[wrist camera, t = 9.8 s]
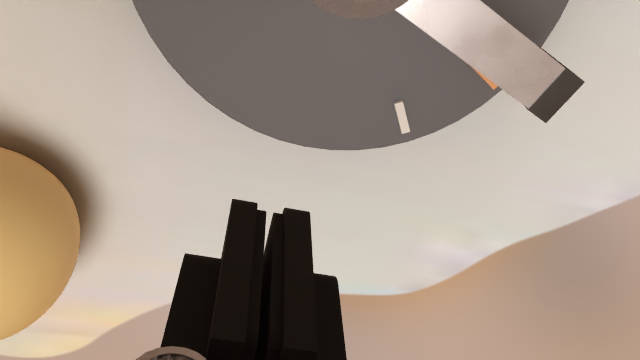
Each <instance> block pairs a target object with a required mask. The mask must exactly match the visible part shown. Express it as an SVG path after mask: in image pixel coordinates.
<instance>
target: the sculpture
mask: <svg viewBox="0 0 640 360" xmlns="http://www.w3.org/2000/svg"><path fill="white" fill-rule="evenodd" d="M79 247H80V223H79V218H78V213H77V210H76V207H75V204H74V202H73V200H72V198H71V196H70V194H69V193H68V191H67V190H66V188H65V187H64V186H63V184H62V183H61V182H60V181H59V180H58V179H57V178H56V177H55V176H54V175H53V174H52V173H51V172H49V171H48V170H47V169H46V168H44V167H43V166H41V165H40V164H38V163H37V162H35V161H34V160H32V159H30V158H28V157H26V156H24V155H22V154H20V153H17V152H14V151H11V150H8V149H5V148H1V147H0V340H2V339H5V338H7V337H9V336H12V335H14V334H16V333H18V332H20V331H21V330H23V329H25V328H26V327H28V326H29V325H31V324H32V323H34V322H35V321H36V320H37V319H39V318H40V317H41V316H42V315H43V314H44V313H45V312H46V311H47V310H48V309H49V308H50V307H51V306H52V305H53V304H54V302H55V301H56V300H57V299H58V297H59V296H60V295H61V293H62V292H63V290H64V288H65V287H66V285H67V283H68V281H69V279H70V277H71V275H72V272H73V270H74V267H75V264H76V261H77V257H78V253H79Z"/></svg>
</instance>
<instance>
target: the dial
mask: <svg viewBox="0 0 640 360" xmlns="http://www.w3.org/2000/svg"><path fill="white" fill-rule="evenodd" d="M312 1H313V2H314V3H315V4H317V5H318V6H319V7H321V8H322V9H324V10H326V11H328V12H330V13H332V14H334V15H337V16H341V17H344V18H351V19H366V18H373V17H377V16H381V15H384V14H386V13H389V12H391V11H393V10H396V11H397V12H399V13H400V14H401V15H403V16H404V17H405V18H407V19H408V20H409V21H411V22H412V23H413V24H415V25H416V26H417V27H419V28H420V29H422V30H423V31H424V32H426V33H427V34H428V35H430V36H431V37H432V38H434V39H435V40H436V41H438V42H439V43H440V44H442V45H443V46H445V47H446V48H447V49H449V50H450V51H451V52H453V53H454V54H455V55H457V56H458V57H459V58H461V59H462V60H463V61H465V62H466V63H467V64H469V65H470V66H472V67H473V68H474V69H476V70H477V71H478V72H480V73H481V74H482V75H484V76H485V77H486V78H488V79H489V80H490V81H492V82H493V83H494V84H496V85H497V86H499V87H500V88H501V89H503V90H504V91H505V92H507V93H508V94H509V95H511V96H512V97H513V98H515V99H516V100H517V101H519V102H520V103H522V104H523V105H524V106H525V107H526V108H527V109H528V110H529V111H530V112H532V113H533V114H534V115H536V116H537V117H538V118H540V119H541V120H542V121H544V122H545V123H546V122H547V121H548V120H549V119H550V118H551V117H552V116H553V115H554V114H555V113H556V112H557V111H558V110H559V109H560V108H561V107H562V106H563V105H564V103H565V102H566V101H567V100H568V99H569V98H570V97H571V96H572V95H573V94H574V93H575V92H576V91H577V90H578V89H579V88H580V87H581V86H582V85H583V83H584V81H583V80H582V79H580V78H579V77H578V76H577V75H575V74H574V73H573V72H572V71H570V70H569V69H568V68H567V67H565V66H564V65H563V64H561V63H560V62H559V61H557V60H556V59H555V58H554V57H552V56H551V55H550V54H548V53H547V52H546V51H545V50H543V49H542V48H541V47H539V46H537V45H536V44H534V43H533V42H532V41H531V40H529V39H528V38H527V37H526V36H524V35H523V34H522V33H521V32H519V31H518V30H517V29H516V28H514V27H513V26H512V25H511V24H509V23H508V22H507V21H506V20H504V19H503V18H502V17H500V16H499V15H498V14H497V13H495V12H494V11H493V10H492V9H490V8H489V7H488V6H487V5H485V4H484V3H483V2H482V1H480V0H312Z"/></svg>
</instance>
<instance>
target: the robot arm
mask: <svg viewBox="0 0 640 360" xmlns="http://www.w3.org/2000/svg"><path fill="white" fill-rule="evenodd" d="M265 224H266V211H261V210H257V203H254V202H248V201H242V200H236V199H232V203H231V209H230V214H229V219H228V225H227V230H226V236H225V241H224V246H223V252H222V257H221V259H218V258H212V257H205V256H199V255H192V254H186V253H185V255H184V258H183V262H182V266H181V270H180V274H179V278H178V282H177V285H176V289H175V293H174V297H173V301H172V305H171V309H170V313H169V316H168V320H167V324H166V328H165V332H164V336H163V340H162V344H161V347H160V348H156V349H154V350H151V351H148V352H146V353H145V354H143V355H142V356H140V357H139V358H137V359H136V360H347V359H346V351H345V342H344V333H343V324H342V315H341V306H340V297H339V288H338V281H337V278H336V277H335V276H329V275H322V274H316V273H313V258H312V240H311V223H310V212H307V211H301V210H295V209H289V208H284V210H283V214H279V213H273V217H272V221H271V225H270V229H269V234H268V238H267V242H266V247H265V251H264V240H265Z"/></svg>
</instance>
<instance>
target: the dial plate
mask: <svg viewBox="0 0 640 360" xmlns="http://www.w3.org/2000/svg"><path fill="white" fill-rule="evenodd" d="M480 1H482V2H483V3H484V4H485V5H487V6H488V7H489V8H490V9H492V10H493V11H494V12H495V13H497V14H498V15H499V16H500V17H502V18H503V19H504V20H506V21H507V22H508V23H509V24H511V25H512V26H513V27H514V28H516V29H517V30H518V31H519V32H521V33H522V34H523V35H524V36H526V37H527V38H528V39H529V40H531V41H532V42H533V43H534V44H536V45H537V46H539V47H541V46H542V45H543V44H544V42H545V40H546V39H547V37H548V36H549V34H550V33H551V31H552V30H553V28H554V26H555V25H556V23H557V22H558V20H559V19H560V17H561V15H562V13H563V11H564V9H565V7H566V5H567V3H568V1H569V0H480ZM133 3H134V6H135V8H136V10H137V12H138V14H139V16H140V18H141V20H142V22H143V23H144V25H145V27H146V29H147V31H148V33H149V35H150V37H151V38H152V39H153V41H154V42H155V44H156V45H157V47H158V48H159V50H160V51H161V52H162V54H163V55H164V57H165V58H166V60H167V61H168V62H169V63H170V65H171V66H172V67H173V68H174V69H175V70H176V71H177V72H178V74H179V75H180V76H181V77H182V78H183V79H184V80H185V81H186V83H187V84H188V85H190V86H191V87H192V88H193V89H194V90H195V91H196V92H197V93H199V94H200V95H201V96H202V97H203V98H204V99H205V100H206V101H208V102H209V103H210V104H212V105H213V106H215V107H216V108H217V109H219V110H220V111H222V112H223V113H225V114H226V115H228V116H229V117H230V118H232V119H234V120H236V121H238V122H240V123H242V124H243V125H245V126H247V127H249V128H251V129H253V130H255V131H257V132H260V133H262V134H265V135H268V136H270V137H273V138H275V139H278V140H281V141H285V142H289V143H293V144H297V145H301V146H305V147H313V148H320V149H328V150H362V149H372V148H381V147H386V146H391V145H395V144H399V143H404V142H408V141H411V140H414V139H417V138H420V137H422V136H425V135H428V134H431V133H434V132H436V131H438V130H440V129H442V128H444V127H446V126H448V125H450V124H452V123H454V122H456V121H458V120H460V119H461V118H463V117H465V116H466V115H468V114H469V113H471V112H473V111H474V110H476V109H477V108H479V107H481V106H482V105H483V104H484V103H486V102H487V101H488V100H489V99H491V98H492V97H493V96H494V95H496V94H497V93H498V92H499V91H501V90H502V89H501V88H500V87H499V86H497V85H496V84H494V83H493V82H492V81H490V80H489V79H488V78H486V77H485V76H484V75H482V74H481V73H480V72H478V71H477V70H476V69H474V68H473V67H472V66H470V65H469V64H467V63H466V62H465V61H463V60H462V59H461V58H459V57H458V56H457V55H455V54H454V53H453V52H451V51H450V50H449V49H447V48H446V47H445V46H443V45H442V44H440V43H439V42H438V41H436V40H435V39H434V38H432V37H431V36H430V35H428V34H427V33H426V32H424V31H423V30H422V29H420V28H419V27H417V26H416V25H415V24H413V23H412V22H411V21H409V20H408V19H407V18H405V17H404V16H403V15H401V14H400V13H399V12H397V11H396V10H393V11H391V12H389V13H386V14H384V15H381V16H377V17H373V18H366V19H351V18H344V17H341V16H337V15H334V14H332V13H330V12H328V11H326V10H324V9H322V8H321V7H319V6H318V5H317V4H315V3H314V2H313V1H312V0H133Z"/></svg>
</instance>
